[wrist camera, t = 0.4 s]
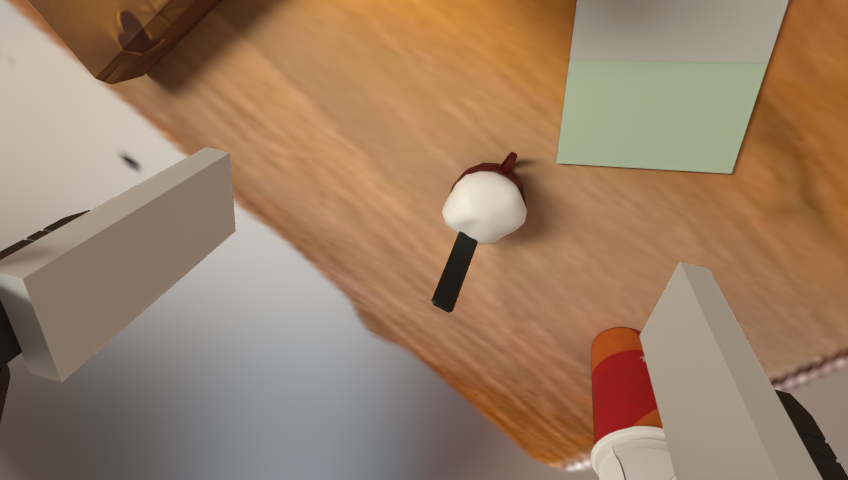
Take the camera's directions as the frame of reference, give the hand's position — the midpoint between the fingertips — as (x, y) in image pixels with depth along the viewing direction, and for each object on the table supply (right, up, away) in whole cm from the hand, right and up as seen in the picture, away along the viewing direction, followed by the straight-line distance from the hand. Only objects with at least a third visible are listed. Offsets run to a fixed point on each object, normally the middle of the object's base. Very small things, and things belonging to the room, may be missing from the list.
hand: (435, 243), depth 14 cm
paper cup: (+19, -11, +33) cm, 40 cm away
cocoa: (+5, +5, +28) cm, 29 cm away
